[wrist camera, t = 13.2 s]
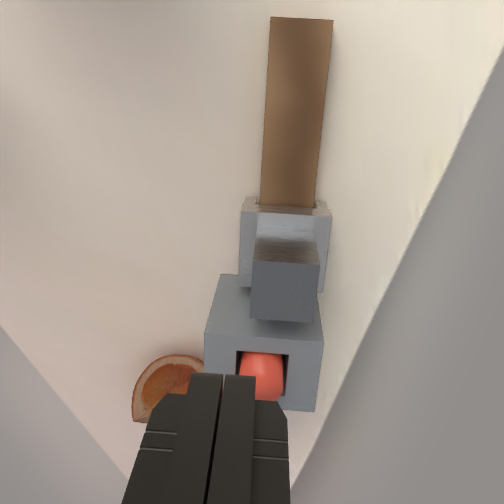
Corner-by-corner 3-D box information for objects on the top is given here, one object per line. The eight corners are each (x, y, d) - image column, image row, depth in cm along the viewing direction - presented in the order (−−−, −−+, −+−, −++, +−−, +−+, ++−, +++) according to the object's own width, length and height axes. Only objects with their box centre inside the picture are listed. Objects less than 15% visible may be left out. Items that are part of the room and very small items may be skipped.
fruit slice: (213, 334, 41) (204, 368, 36) (240, 389, 43) (235, 428, 39) (132, 358, 42) (114, 394, 38) (163, 410, 45) (149, 450, 40)
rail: (256, 271, 38) (254, 281, 36) (271, 19, 30) (270, 16, 28) (303, 274, 38) (304, 285, 36) (330, 22, 30) (333, 20, 28)
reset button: (244, 342, 37) (237, 402, 30) (246, 311, 36) (238, 367, 29) (280, 345, 37) (281, 406, 30) (283, 314, 36) (284, 370, 29)
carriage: (241, 266, 37) (229, 330, 28) (244, 196, 35) (232, 243, 26) (318, 271, 37) (330, 338, 28) (327, 202, 35) (343, 250, 26)
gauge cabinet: (219, 333, 41) (203, 403, 32) (220, 273, 38) (204, 333, 30) (307, 339, 40) (314, 412, 32) (314, 280, 38) (323, 342, 30)
